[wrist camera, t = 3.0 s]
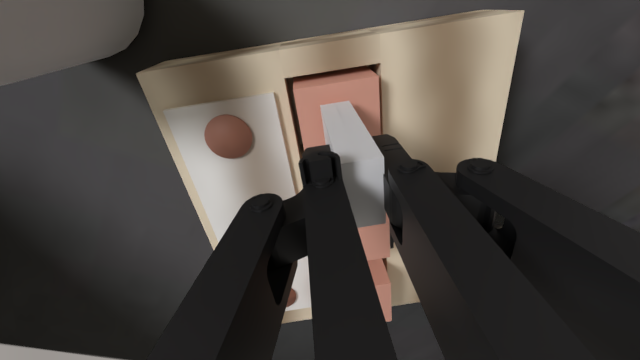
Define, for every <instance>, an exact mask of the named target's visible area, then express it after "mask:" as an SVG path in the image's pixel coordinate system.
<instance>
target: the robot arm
mask: <svg viewBox="0 0 640 360" xmlns="http://www.w3.org/2000/svg"><path fill="white" fill-rule="evenodd" d="M320 108H321V115H322V122H323V129H324V137H325V144H326V145H321V146H315V147H309V148H306V149H305V151H304V152H303V153H302V158H301V159H300V160H299V163H298V164H299V169H300V174H301V179H302V184H303V189H302V190H301V191H300V192H299V193H298V194H296V195H295V196H293V197H291V198H289V199H286V200H282V198H281V197H280V196H279V195H276V194H272V193H265V194H259V195H256V196H253V197H252V198H250V199H248V200H247V201H246V202H245V203H244V204H243V205H242V206H241V208H240V209H239V211H238V212H237V214H236V216H235V217H234V219H233V220H232V222H231V224H230V225H229V227H228V229H227V230H226V232H225V233H224V235H223V237H222V238H221V240H220V241H219V243H218V245H217V246H216V248H215V250H214V251H213V253H212V254H211V256H210V258H209V259H208V261H207V262H206V264H205V266H204V267H203V269H202V271H201V272H200V274H199V275H198V277H197V279H196V280H195V282H194V283H193V285H192V287H191V288H190V290H189V292H188V293H187V295H186V296H185V298H184V300H183V301H182V303H181V304H180V306H179V308H178V309H177V311H176V313H175V314H174V316H173V317H172V319H171V321H170V322H169V324H168V325H167V327H166V329H165V330H164V332H163V334H162V335H161V337H160V338H159V340H158V342H157V343H156V345H155V346H154V348H153V350H152V351H151V353H150V354H149V356H148V358H147V359H146V360H272V356H273V352H274V349H275V345H276V342H277V338H278V334H279V331H280V327H281V324H282V320H283V316H284V313H285V309H286V306H287V302H288V298H289V295H290V291H291V288H292V284H293V280H294V277H295V273H296V270H297V266H298V260H299V259H301V258H304V257H306V256H308V267H309V281H310V295H311V310H312V324H313V338H314V352H315V360H397V357H396V353H395V350H394V347H393V344H392V340H391V337H390V334H389V330H388V327H387V324H386V320H385V317H384V314H383V311H382V307H381V304H380V301H379V297H378V294H377V291H376V288H375V284H374V281H373V278H372V274H371V271H370V268H369V265H368V261H367V258H366V255H365V251H364V248H363V245H362V242H361V238H360V235H359V232H358V228H360V227H366V226H373V225H379V224H385V223H386V213H387V216H388V218H389V226H390V249H391V248H394V244H393V243H395V245H396V247H397V249H398V252H399V254H400V256H401V259H402V261H403V263H404V266H405V268H406V270H407V272H408V275H409V277H410V279H411V282H412V284H413V286H414V289H415V291H416V293H417V296H418V298H419V300H420V302H421V305H422V307H423V309H424V312H425V314H426V316H427V319H428V321H429V323H430V325H431V328H432V330H433V332H434V335H435V337H436V339H437V342H438V344H439V346H440V348H441V351H442V353H443V355H444V358H445V360H640V233H639V232H637V231H635V230H633V229H631V228H629V227H627V226H625V225H623V224H621V223H619V222H617V221H615V220H613V219H611V218H609V217H607V216H605V215H603V214H601V213H599V212H597V211H595V210H593V209H591V208H589V207H587V206H585V205H583V204H581V203H578V202H576V201H574V200H572V199H570V198H568V197H566V196H564V195H562V194H560V193H558V192H556V191H554V190H552V189H550V188H548V187H546V186H544V185H542V184H540V183H538V182H536V181H534V180H532V179H530V178H528V177H526V176H524V175H522V174H520V173H518V172H516V171H514V170H512V169H510V168H508V167H506V166H504V165H502V164H500V163H497V162H495V161H492V160H488V159H483V158H471V159H466V160H463V161H461V162H459V163H458V165H457V167H456V173H451V172H434V171H433V169H432V168H431V167H430V166H429V165H428V164H427V163H425V162H424V161H421V160H417V159H412V158H411V157H410V156H409V154H408V153H407V152H406V151H405V149H404V148H403V147H402V146H401V144H399V142H398V141H397V139H396V138H395V137H393V136H390V135H388V134H383V135H377V136H371V135H370V134H369V132H368V130H367V129H366V127H365V125H364V124H363V122H362V121H361V119H360V117H359V116H358V114H357V112H356V111H355V109H354V108H353V106H352V104H351V103H350V101H343V102H337V103H331V104H325V105H320ZM496 212H497V213H499V214H500V215H502V216H503V217H505V221H504V225H503V226H500V225H498V224H497V223H495V222H494V221H495V216H496Z"/></svg>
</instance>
